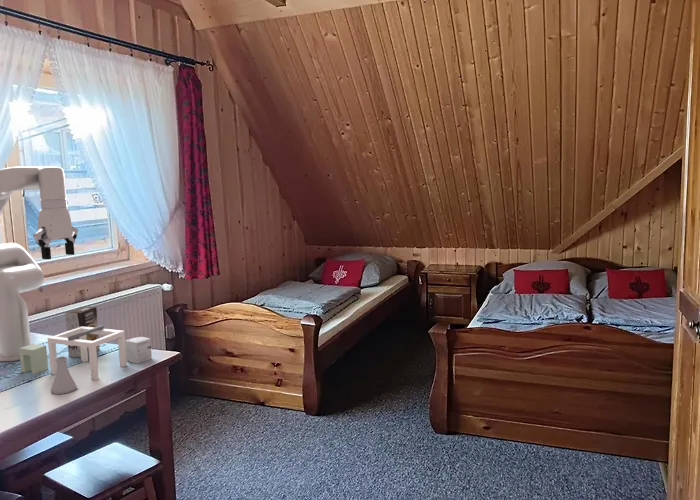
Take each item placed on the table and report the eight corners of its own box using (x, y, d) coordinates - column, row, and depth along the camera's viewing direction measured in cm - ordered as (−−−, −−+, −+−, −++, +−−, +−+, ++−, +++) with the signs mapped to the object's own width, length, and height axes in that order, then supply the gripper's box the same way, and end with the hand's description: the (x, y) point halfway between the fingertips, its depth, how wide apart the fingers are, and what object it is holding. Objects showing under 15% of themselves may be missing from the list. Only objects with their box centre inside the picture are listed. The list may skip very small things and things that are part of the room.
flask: (70, 383, 172) (68, 352, 171) (81, 389, 168) (79, 357, 166) (46, 391, 167) (43, 358, 165) (56, 397, 162) (53, 363, 161)
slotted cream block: (21, 372, 183) (19, 348, 182) (34, 366, 188) (32, 343, 187) (35, 374, 181) (32, 350, 180) (48, 368, 186) (46, 345, 185)
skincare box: (137, 364, 189) (135, 342, 188) (125, 361, 192) (124, 340, 191) (152, 358, 194) (150, 338, 193) (140, 355, 198) (139, 335, 196)
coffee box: (84, 357, 196) (80, 312, 194) (68, 356, 198) (64, 312, 195) (100, 349, 205) (97, 306, 203) (85, 348, 207) (81, 305, 204)
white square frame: (50, 374, 181) (47, 334, 179) (84, 360, 194) (81, 322, 192) (95, 380, 175) (91, 339, 173) (126, 365, 188) (124, 327, 186)
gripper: (65, 203, 193) (70, 252, 195) (22, 206, 176) (27, 260, 179) (83, 203, 190) (87, 253, 193) (40, 206, 174) (46, 261, 177)
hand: (58, 256), depth 186 cm, fingers open, 9 cm apart
